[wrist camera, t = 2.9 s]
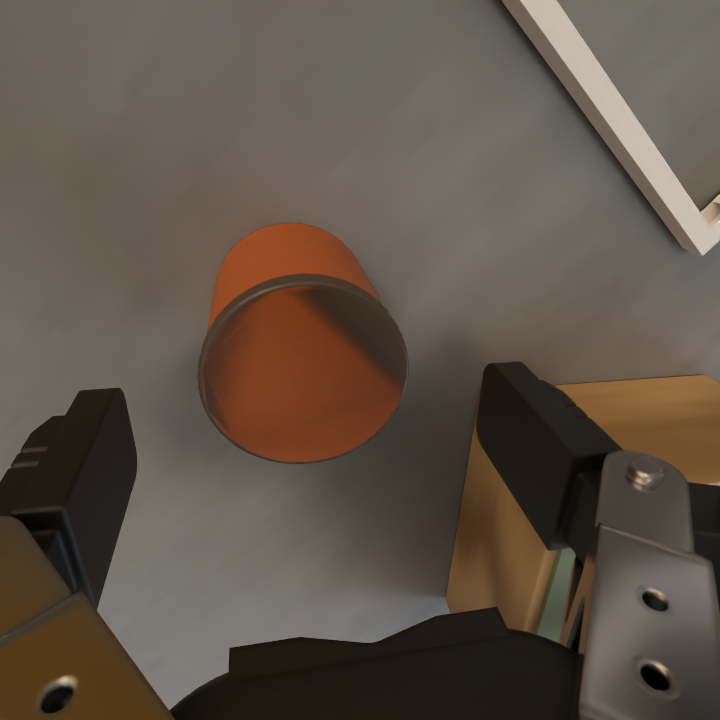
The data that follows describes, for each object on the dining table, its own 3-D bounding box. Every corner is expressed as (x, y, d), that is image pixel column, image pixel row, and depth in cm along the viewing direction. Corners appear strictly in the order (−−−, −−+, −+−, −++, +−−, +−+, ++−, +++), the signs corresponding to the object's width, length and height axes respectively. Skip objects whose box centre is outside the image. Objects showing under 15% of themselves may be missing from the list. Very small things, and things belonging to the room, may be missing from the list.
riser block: (479, 389, 20) (563, 504, 14) (706, 373, 22) (857, 471, 16) (444, 598, 25) (496, 737, 20) (627, 572, 27) (719, 694, 22)
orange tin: (205, 221, 15) (184, 285, 10) (369, 220, 16) (418, 278, 11) (220, 368, 17) (209, 474, 13) (363, 360, 18) (401, 456, 14)
